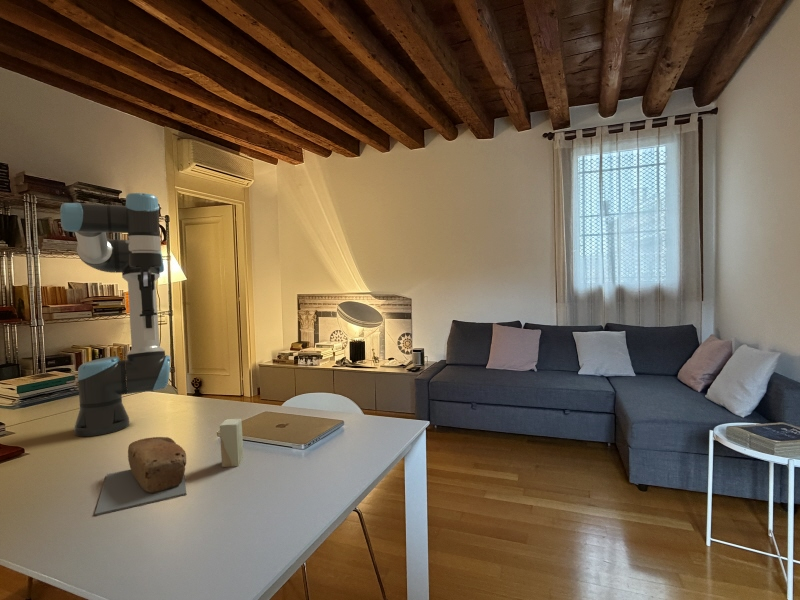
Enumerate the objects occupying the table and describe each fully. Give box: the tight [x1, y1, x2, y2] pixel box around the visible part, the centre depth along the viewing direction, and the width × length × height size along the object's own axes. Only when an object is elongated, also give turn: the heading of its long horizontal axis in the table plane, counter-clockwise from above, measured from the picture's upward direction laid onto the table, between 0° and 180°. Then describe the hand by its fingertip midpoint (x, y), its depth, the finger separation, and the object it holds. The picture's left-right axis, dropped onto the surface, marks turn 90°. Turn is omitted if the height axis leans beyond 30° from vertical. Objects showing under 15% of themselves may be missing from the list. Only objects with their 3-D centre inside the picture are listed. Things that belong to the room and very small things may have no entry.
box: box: [219, 418, 244, 468], centre depth 115 cm, size 5×4×11 cm
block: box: [127, 436, 187, 493], centre depth 108 cm, size 11×8×20 cm
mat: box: [94, 468, 188, 517], centre depth 104 cm, size 22×17×1 cm
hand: (149, 339), depth 120 cm, fingers closed
